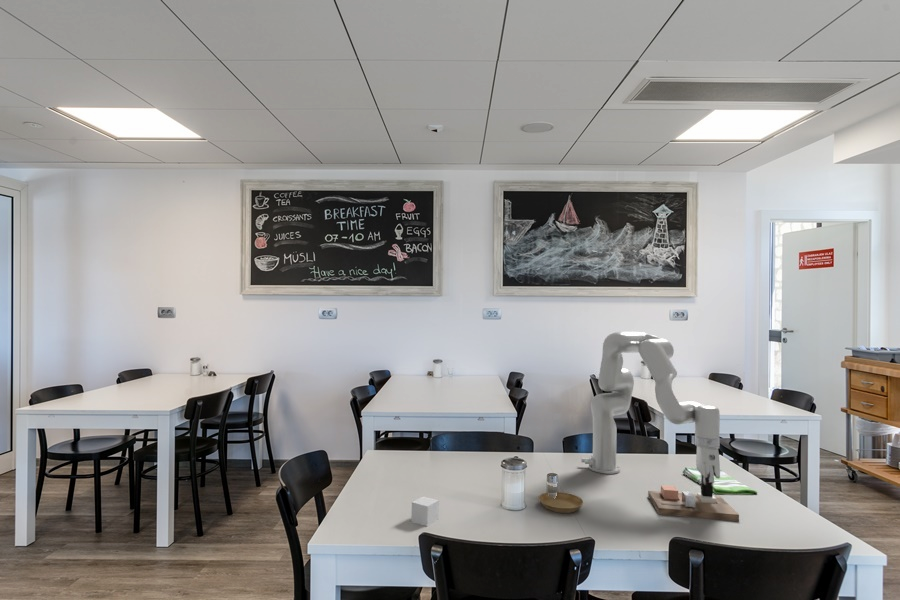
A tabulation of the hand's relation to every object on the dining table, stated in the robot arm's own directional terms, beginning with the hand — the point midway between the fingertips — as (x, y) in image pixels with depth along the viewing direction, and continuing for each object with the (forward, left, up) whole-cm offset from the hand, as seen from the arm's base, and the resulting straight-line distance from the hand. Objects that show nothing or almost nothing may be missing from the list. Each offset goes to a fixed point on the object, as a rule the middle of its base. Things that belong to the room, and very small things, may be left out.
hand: (706, 495), depth 169 cm
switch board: (-6, -3, -3) cm, 8 cm away
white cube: (-92, -33, -4) cm, 97 cm away
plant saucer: (-50, -12, -4) cm, 51 cm away
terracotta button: (-12, 0, -1) cm, 12 cm away
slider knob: (-8, -7, -1) cm, 11 cm away
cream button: (0, 0, -3) cm, 3 cm away
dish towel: (+12, +26, -4) cm, 29 cm away
